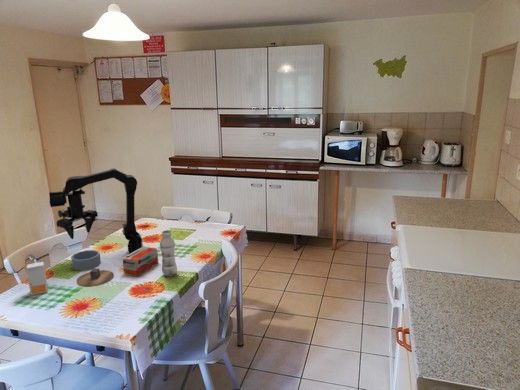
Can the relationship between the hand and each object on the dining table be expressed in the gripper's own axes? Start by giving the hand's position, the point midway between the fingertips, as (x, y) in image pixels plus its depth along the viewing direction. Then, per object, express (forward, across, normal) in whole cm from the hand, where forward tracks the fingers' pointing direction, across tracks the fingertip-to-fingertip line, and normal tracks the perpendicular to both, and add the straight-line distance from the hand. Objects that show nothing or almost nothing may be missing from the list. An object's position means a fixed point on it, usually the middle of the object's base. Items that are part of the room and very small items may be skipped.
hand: (80, 235), depth 181 cm
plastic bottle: (+14, -4, +48) cm, 50 cm away
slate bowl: (+13, +2, +4) cm, 14 cm away
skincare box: (+13, +29, +8) cm, 33 cm away
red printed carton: (+14, -4, +32) cm, 35 cm away
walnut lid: (+14, +11, +20) cm, 27 cm away
